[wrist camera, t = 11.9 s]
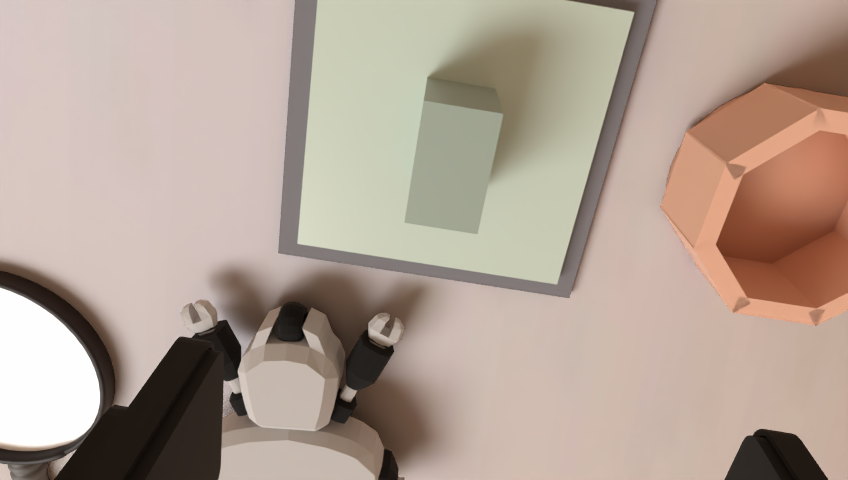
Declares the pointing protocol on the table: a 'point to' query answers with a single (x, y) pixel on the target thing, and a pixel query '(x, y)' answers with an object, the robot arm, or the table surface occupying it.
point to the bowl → (768, 202)
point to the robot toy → (298, 396)
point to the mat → (298, 105)
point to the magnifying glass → (47, 377)
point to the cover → (456, 129)
